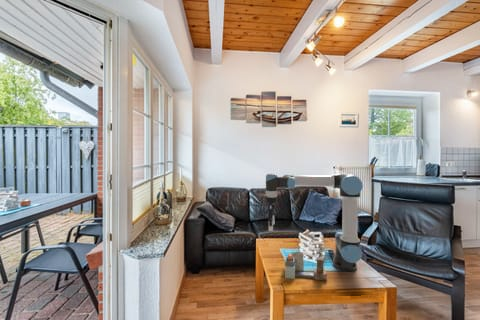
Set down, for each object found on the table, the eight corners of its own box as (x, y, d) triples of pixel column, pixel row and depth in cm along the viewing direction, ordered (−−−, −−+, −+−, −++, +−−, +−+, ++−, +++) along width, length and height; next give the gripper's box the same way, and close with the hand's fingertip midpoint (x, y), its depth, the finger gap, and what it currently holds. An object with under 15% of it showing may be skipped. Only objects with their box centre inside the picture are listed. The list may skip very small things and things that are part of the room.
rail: (325, 276, 144) (325, 274, 144) (326, 279, 140) (326, 277, 140) (294, 273, 148) (294, 270, 148) (294, 276, 144) (294, 273, 144)
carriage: (325, 275, 145) (325, 257, 145) (326, 280, 139) (326, 261, 139) (313, 274, 147) (313, 256, 146) (314, 279, 141) (314, 260, 140)
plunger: (292, 259, 148) (292, 254, 148) (292, 261, 145) (292, 256, 145) (287, 258, 148) (287, 254, 148) (287, 260, 146) (287, 256, 146)
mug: (306, 271, 148) (303, 256, 148) (286, 272, 151) (284, 257, 151) (305, 265, 156) (302, 251, 157) (286, 267, 159) (284, 252, 159)
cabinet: (294, 271, 151) (294, 256, 150) (294, 278, 142) (294, 263, 142) (285, 270, 152) (285, 255, 152) (285, 277, 143) (285, 262, 143)
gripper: (267, 193, 167) (268, 221, 168) (263, 200, 143) (264, 233, 143) (278, 193, 166) (278, 222, 166) (275, 200, 141) (276, 234, 142)
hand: (271, 227), depth 155 cm, fingers open, 13 cm apart
